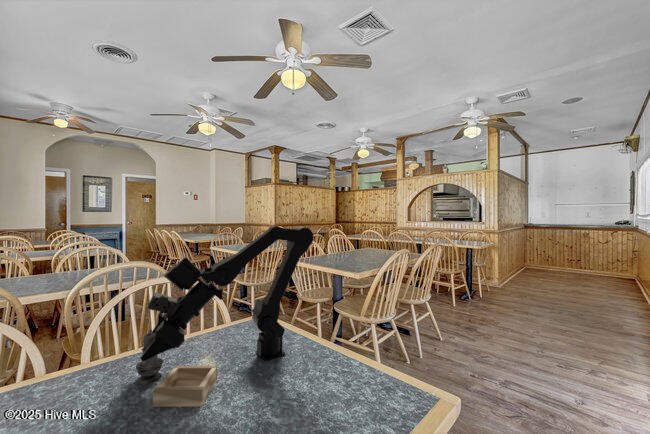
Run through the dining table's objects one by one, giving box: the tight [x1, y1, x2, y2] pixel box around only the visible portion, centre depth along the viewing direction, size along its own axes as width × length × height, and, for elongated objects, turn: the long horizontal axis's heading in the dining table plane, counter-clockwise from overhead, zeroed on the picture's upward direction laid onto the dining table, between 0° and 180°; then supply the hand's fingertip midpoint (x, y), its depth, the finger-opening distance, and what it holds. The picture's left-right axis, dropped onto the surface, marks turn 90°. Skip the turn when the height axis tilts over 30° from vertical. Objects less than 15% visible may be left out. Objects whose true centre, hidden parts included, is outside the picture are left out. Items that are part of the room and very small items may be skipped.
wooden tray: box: [152, 365, 218, 408], centre depth 66 cm, size 10×10×4 cm
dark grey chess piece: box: [135, 329, 164, 385], centre depth 72 cm, size 6×6×12 cm
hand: (143, 351), depth 71 cm, fingers open, 9 cm apart
